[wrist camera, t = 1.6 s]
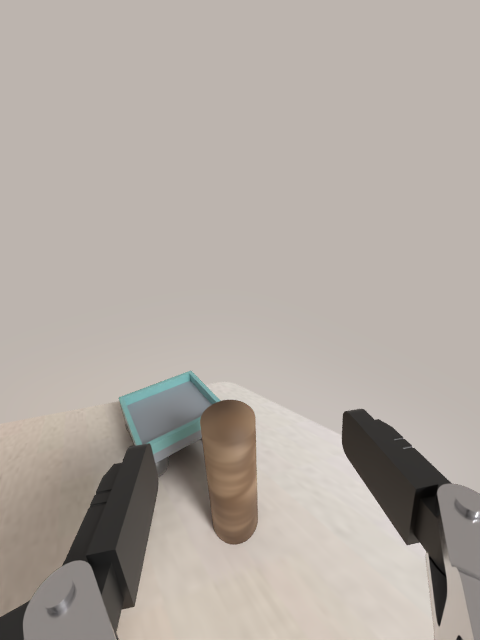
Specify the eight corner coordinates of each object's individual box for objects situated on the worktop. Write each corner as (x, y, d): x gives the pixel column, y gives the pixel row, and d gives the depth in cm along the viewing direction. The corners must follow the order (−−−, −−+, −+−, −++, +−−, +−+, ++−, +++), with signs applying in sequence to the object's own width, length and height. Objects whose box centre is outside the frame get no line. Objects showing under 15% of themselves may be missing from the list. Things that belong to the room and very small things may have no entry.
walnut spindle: (228, 556, 24) (217, 451, 19) (204, 512, 28) (190, 414, 23) (267, 522, 27) (266, 421, 22) (240, 486, 31) (235, 393, 26)
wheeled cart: (147, 490, 30) (137, 452, 28) (125, 429, 40) (117, 397, 38) (230, 441, 37) (228, 407, 35) (195, 398, 46) (191, 369, 44)
